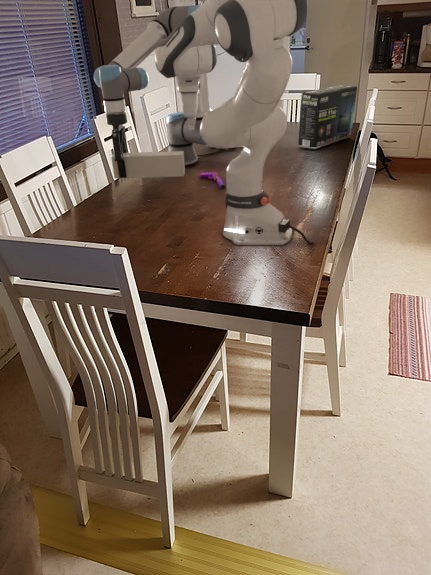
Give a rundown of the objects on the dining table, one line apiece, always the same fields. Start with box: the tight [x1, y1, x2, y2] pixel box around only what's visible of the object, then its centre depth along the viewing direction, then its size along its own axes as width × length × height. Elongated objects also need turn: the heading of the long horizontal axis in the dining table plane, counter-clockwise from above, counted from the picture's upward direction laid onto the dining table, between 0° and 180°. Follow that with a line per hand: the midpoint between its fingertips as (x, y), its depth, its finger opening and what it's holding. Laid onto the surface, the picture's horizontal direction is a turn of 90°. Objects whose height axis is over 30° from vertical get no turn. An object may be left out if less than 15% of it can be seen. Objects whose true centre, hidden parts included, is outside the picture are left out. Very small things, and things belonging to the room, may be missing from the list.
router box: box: [297, 84, 358, 151], centre depth 238 cm, size 36×11×27 cm, turn 134°
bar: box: [111, 151, 186, 179], centre depth 176 cm, size 27×5×8 cm, turn 89°
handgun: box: [199, 171, 226, 190], centre depth 194 cm, size 21×8×2 cm, turn 11°
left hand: (124, 174), depth 179 cm, fingers closed on bar, 5 cm apart
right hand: (192, 126), depth 156 cm, fingers open, 8 cm apart
